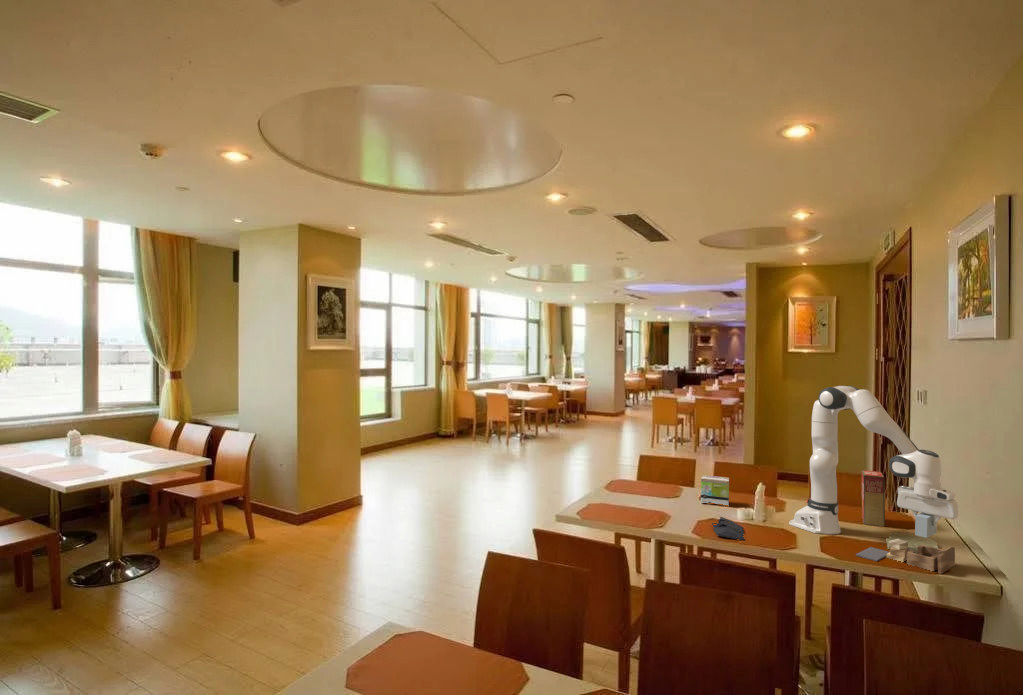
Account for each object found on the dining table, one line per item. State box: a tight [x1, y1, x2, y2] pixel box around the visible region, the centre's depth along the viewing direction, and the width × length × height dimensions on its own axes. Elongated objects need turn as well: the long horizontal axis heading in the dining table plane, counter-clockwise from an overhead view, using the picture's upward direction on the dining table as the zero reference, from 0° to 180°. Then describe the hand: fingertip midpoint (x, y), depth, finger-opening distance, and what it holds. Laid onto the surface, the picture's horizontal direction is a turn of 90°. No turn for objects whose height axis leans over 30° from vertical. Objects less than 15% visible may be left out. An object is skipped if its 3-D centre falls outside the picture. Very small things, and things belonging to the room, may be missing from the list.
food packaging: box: [860, 470, 886, 528], centre depth 279 cm, size 13×9×25 cm
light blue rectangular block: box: [914, 512, 938, 539], centre depth 225 cm, size 4×11×8 cm, turn 126°
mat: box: [855, 546, 890, 562], centre depth 234 cm, size 8×15×1 cm, turn 126°
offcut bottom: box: [886, 551, 907, 563], centre depth 231 cm, size 6×10×2 cm, turn 128°
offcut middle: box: [889, 547, 909, 558], centre depth 231 cm, size 5×8×2 cm, turn 134°
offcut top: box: [889, 539, 908, 550], centre depth 231 cm, size 4×6×2 cm, turn 114°
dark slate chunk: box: [712, 516, 746, 541], centre depth 263 cm, size 15×22×5 cm
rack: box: [906, 544, 956, 575], centre depth 223 cm, size 12×16×7 cm
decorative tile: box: [885, 532, 939, 554], centre depth 243 cm, size 19×20×4 cm
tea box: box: [700, 474, 730, 506], centre depth 312 cm, size 15×10×15 cm
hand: (926, 523), depth 225 cm, fingers closed on light blue rectangular block, 4 cm apart
